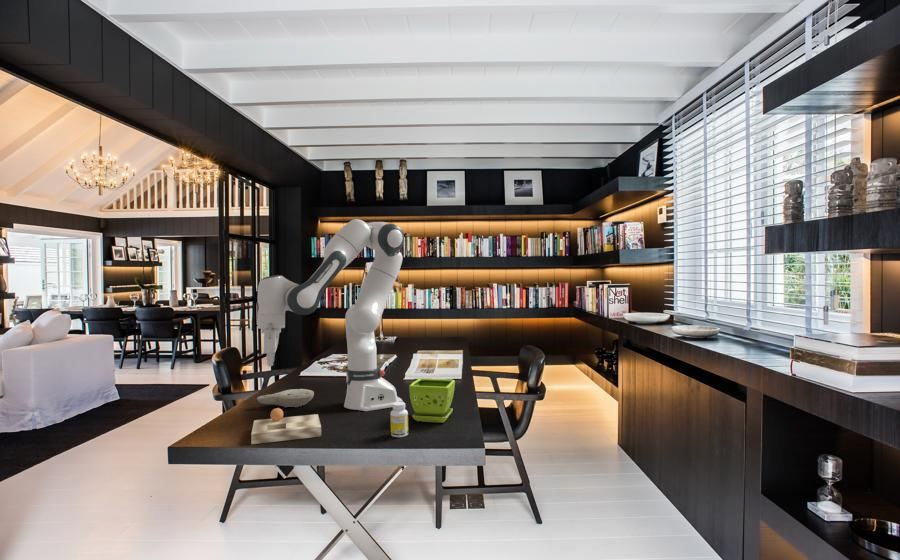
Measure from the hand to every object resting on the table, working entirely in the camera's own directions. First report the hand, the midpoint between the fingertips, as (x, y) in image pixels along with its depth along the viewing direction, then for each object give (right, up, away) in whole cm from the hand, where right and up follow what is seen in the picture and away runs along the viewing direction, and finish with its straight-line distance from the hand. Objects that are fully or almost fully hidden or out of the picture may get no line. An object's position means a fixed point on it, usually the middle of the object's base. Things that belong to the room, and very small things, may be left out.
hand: (271, 363), depth 161 cm
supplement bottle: (+45, -20, -14) cm, 51 cm away
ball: (+5, -15, -7) cm, 17 cm away
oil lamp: (-3, -21, +23) cm, 31 cm away
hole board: (+9, -20, -10) cm, 24 cm away
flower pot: (+55, -20, +4) cm, 58 cm away
